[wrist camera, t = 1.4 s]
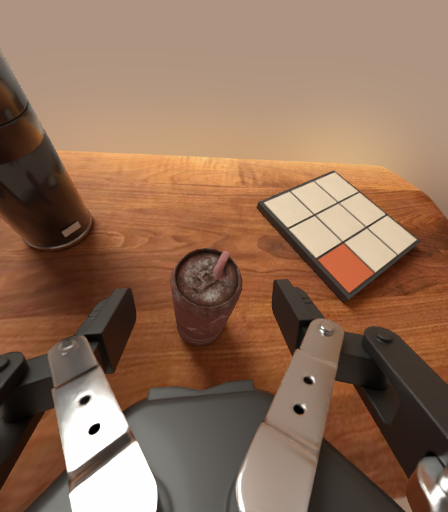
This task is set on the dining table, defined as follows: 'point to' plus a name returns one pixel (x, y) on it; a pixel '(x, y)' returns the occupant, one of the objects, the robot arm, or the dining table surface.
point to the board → (338, 232)
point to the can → (204, 294)
